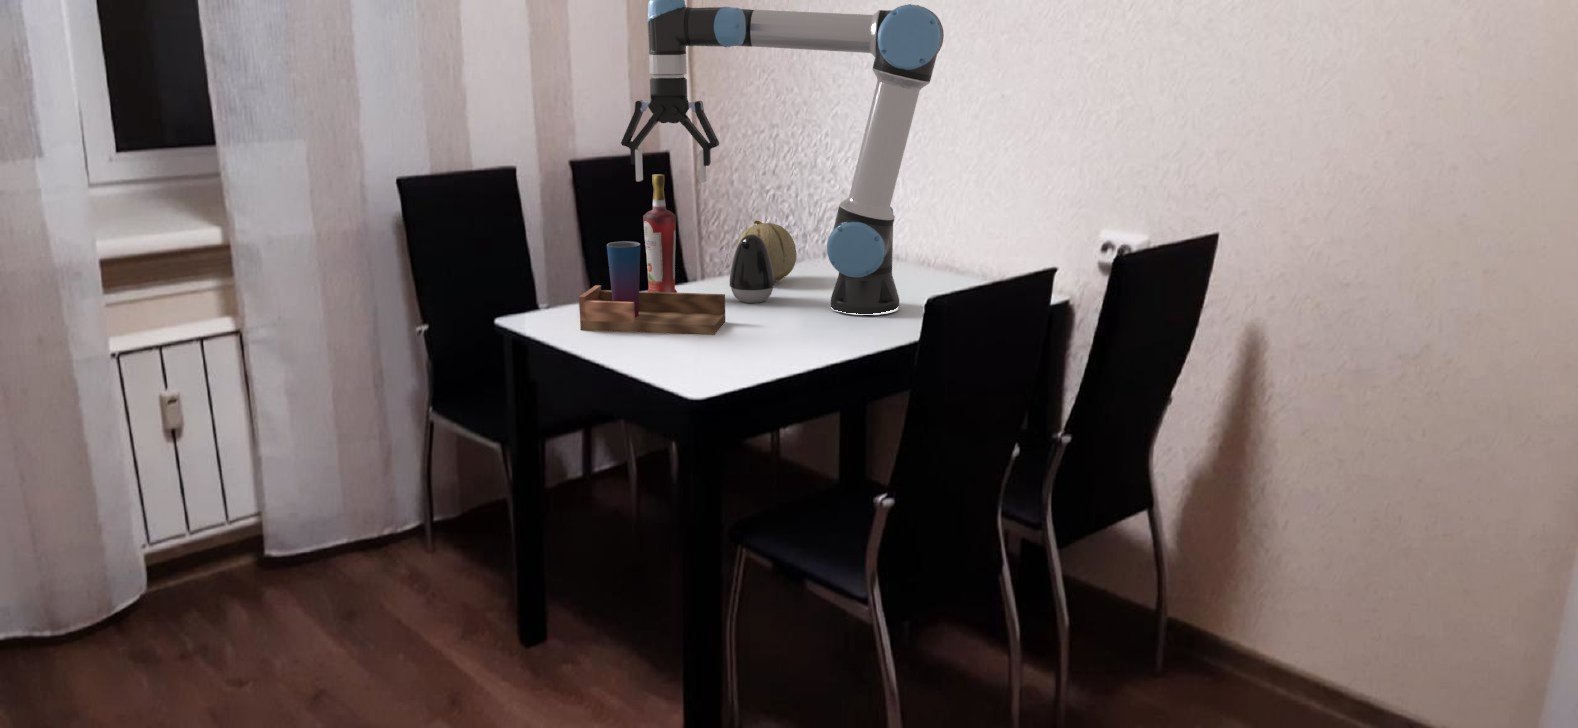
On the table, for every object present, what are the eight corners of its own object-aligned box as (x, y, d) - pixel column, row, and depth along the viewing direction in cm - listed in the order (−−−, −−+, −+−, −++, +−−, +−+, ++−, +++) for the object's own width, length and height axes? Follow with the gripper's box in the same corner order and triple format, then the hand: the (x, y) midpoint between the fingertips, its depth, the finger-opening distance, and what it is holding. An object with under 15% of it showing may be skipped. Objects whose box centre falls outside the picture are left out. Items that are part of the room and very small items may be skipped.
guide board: (725, 322, 243) (724, 289, 241) (714, 335, 233) (713, 301, 231) (596, 317, 247) (595, 285, 245) (580, 330, 237) (578, 296, 235)
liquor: (639, 297, 266) (635, 174, 258) (666, 292, 270) (663, 172, 262) (657, 302, 260) (652, 178, 253) (684, 298, 265) (681, 175, 257)
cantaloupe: (787, 290, 272) (787, 227, 268) (728, 287, 276) (727, 224, 272) (803, 278, 286) (804, 218, 282) (747, 274, 290) (746, 215, 286)
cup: (636, 320, 236) (633, 247, 232) (605, 318, 238) (601, 246, 233) (647, 312, 243) (644, 242, 238) (616, 311, 244) (613, 240, 240)
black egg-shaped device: (721, 303, 260) (720, 236, 255) (741, 294, 269) (740, 229, 265) (763, 307, 256) (763, 239, 252) (781, 298, 265) (781, 232, 261)
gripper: (731, 76, 237) (733, 180, 243) (614, 75, 241) (618, 178, 246) (724, 77, 230) (726, 184, 236) (603, 76, 233) (608, 182, 239)
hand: (671, 181), depth 241 cm, fingers open, 13 cm apart
